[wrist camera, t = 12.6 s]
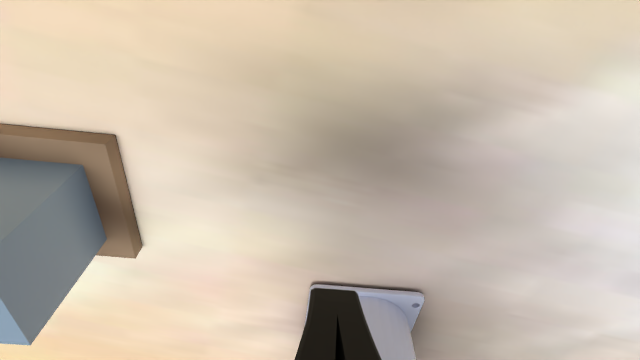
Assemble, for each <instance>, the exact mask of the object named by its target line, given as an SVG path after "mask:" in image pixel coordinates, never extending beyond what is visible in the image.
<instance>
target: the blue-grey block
mask: <svg viewBox="0 0 640 360" xmlns="http://www.w3.org/2000/svg"><path fill="white" fill-rule="evenodd" d="M106 240H107V238H106V235H105V232H104V229H103V226H102V222H101V219H100V216H99V213H98V210H97V207H96V204H95V201H94V198H93V195H92V192H91V189H90V185H89V182H88V179H87V176H86V173H85V170H84V167H83V165H78V164H67V163H55V162H44V161H33V160H21V159H10V158H0V343H3V344H19V345H31V344H32V342H33V341H34V340H35V338H36V337H37V335H38V334H39V333H40V331H41V330H42V328H43V327H44V326H45V324H46V323H47V322H48V320H49V319H50V317H51V316H52V315H53V313H54V312H55V311H56V309H57V308H58V306H59V305H60V304H61V302H62V301H63V299H64V298H65V297H66V295H67V294H68V293H69V291H70V290H71V288H72V287H73V286H74V284H75V283H76V281H77V280H78V279H79V277H80V276H81V275H82V273H83V272H84V270H85V269H86V268H87V266H88V265H89V263H90V262H91V261H92V259H93V258H94V257H95V255H96V254H97V252H98V251H99V250H100V248H101V247H102V246H103V244H104V243H105V241H106Z"/></svg>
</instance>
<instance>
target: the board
mask: <svg viewBox="0 0 640 360" xmlns="http://www.w3.org/2000/svg"><path fill="white" fill-rule="evenodd" d="M0 158H10V159H21V160H33V161H44V162H55V163H67V164H78V165H83V167H84V170H85V173H86V176H87V179H88V182H89V185H90V189H91V192H92V195H93V198H94V201H95V204H96V207H97V210H98V213H99V216H100V219H101V222H102V226H103V229H104V232H105V235H106V238H107V240H106V241H105V243H104V244H103V246H102V247H101V248H100V250H99V251H98V252H97V254H96V255H99V256H112V257H124V258H136V257H137V255H138V253H139V252H140V250H141V248H142V243H141V239H140V235H139V231H138V227H137V223H136V219H135V215H134V210H133V206H132V202H131V198H130V194H129V190H128V186H127V182H126V178H125V174H124V169H123V165H122V161H121V157H120V153H119V149H118V145H117V141H116V137H115V135H109V134H99V133H88V132H78V131H68V130H58V129H47V128H37V127H27V126H17V125H6V124H0Z"/></svg>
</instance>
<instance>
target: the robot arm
mask: <svg viewBox="0 0 640 360" xmlns="http://www.w3.org/2000/svg"><path fill="white" fill-rule="evenodd" d="M424 300H425V299H424V295H423V294H422V293H420V292H410V291H397V290H384V289H371V288H359V287H346V286H333V285H320V284H315V285H312V286H311V287H310V291H309V298H308V306H307V313H306V320H305V327H304V331H303V335H302V338H301V341H300V344H299V348H298V351H297V354H296V357H295V360H416V356H415V351H414V347H413V342H412V338H411V331H412V329H413V326H414V324H415V322H416V319H417V317H418V315H419V312H420V310H421V308H422V305H423V303H424Z"/></svg>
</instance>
